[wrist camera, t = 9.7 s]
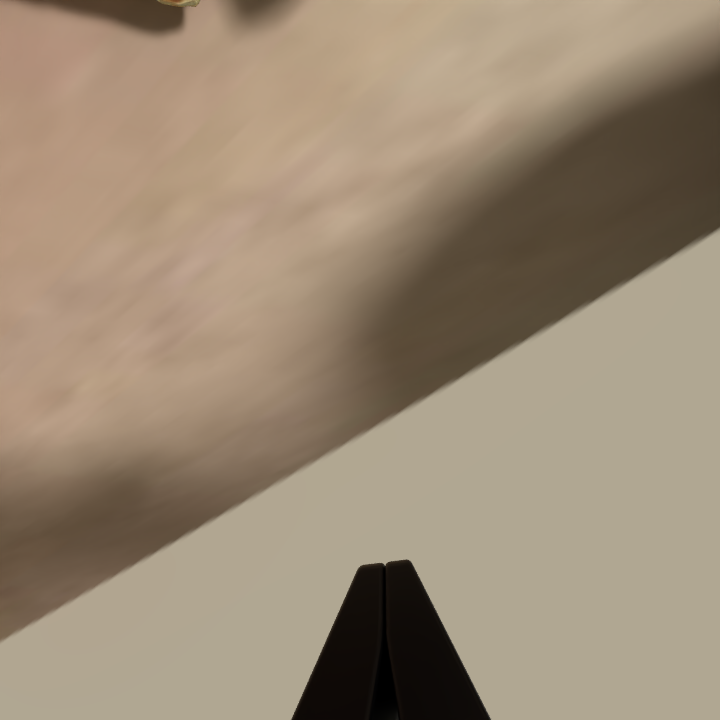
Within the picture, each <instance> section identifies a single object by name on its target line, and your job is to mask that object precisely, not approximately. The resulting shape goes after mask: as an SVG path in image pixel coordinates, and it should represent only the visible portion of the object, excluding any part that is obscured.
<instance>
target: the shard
mask: <svg viewBox="0 0 720 720" xmlns="http://www.w3.org/2000/svg"><path fill="white" fill-rule="evenodd" d="M157 1H159V2H160V3H162V4H167V5H172V6H177V7H183V6H192V7H196V6H197V5H198V4H199V2H200V0H157Z"/></svg>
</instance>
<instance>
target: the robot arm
mask: <svg viewBox="0 0 720 720" xmlns="http://www.w3.org/2000/svg"><path fill="white" fill-rule="evenodd" d="M292 720H491V719H490V717H489V715H488V713H487V711H486V709H485V707H484V705H483V703H482V701H481V699H480V697H479V695H478V693H477V691H476V689H475V687H474V685H473V683H472V681H471V679H470V677H469V675H468V673H467V671H466V669H465V667H464V665H463V663H462V661H461V659H460V657H459V655H458V653H457V651H456V649H455V648H454V645H453V644H452V642H451V640H450V638H449V636H448V634H447V632H446V630H445V628H444V626H443V624H442V622H441V620H440V618H439V616H438V614H437V612H436V610H435V608H434V606H433V604H432V602H431V600H430V598H429V596H428V594H427V592H426V590H425V589H424V586H423V584H422V582H421V580H420V578H419V576H418V574H417V572H416V570H415V568H414V566H413V565H412V563H411V561H409V560H399V561H391V562H388V563H387V564H386V566H385V565H384V564H383V563H376V564H368V565H362V566H360V567H359V568H358V570H357V572H356V574H355V576H354V579H353V581H352V583H351V586H350V588H349V590H348V592H347V595H346V597H345V599H344V601H343V604H342V606H341V608H340V611H339V613H338V615H337V617H336V620H335V622H334V624H333V626H332V629H331V631H330V633H329V635H328V638H327V640H326V642H325V645H324V647H323V649H322V652H321V654H320V656H319V658H318V661H317V663H316V665H315V667H314V669H313V672H312V674H311V676H310V678H309V681H308V683H307V685H306V688H305V690H304V692H303V694H302V697H301V699H300V701H299V703H298V706H297V708H296V710H295V712H294V715H293V717H292Z"/></svg>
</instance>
